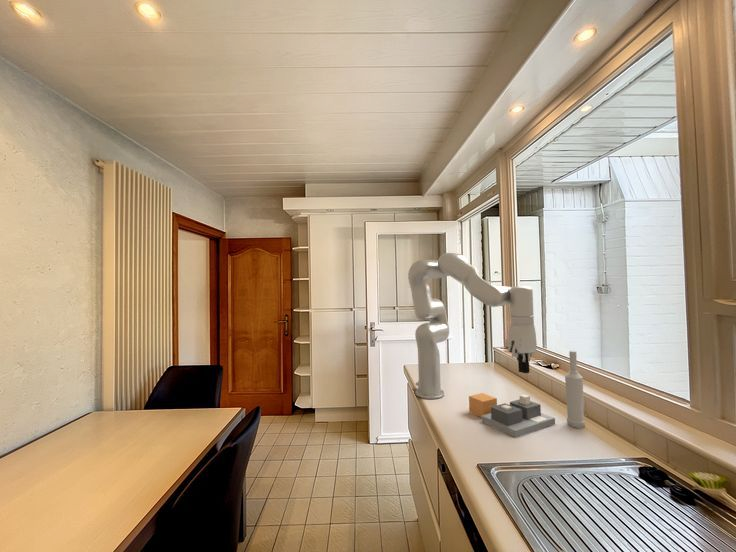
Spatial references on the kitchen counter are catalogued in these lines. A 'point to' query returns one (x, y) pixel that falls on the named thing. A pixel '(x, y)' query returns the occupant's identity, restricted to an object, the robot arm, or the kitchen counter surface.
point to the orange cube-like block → (481, 404)
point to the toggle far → (524, 399)
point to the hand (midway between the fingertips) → (524, 372)
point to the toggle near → (506, 407)
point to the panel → (519, 426)
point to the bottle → (574, 394)
